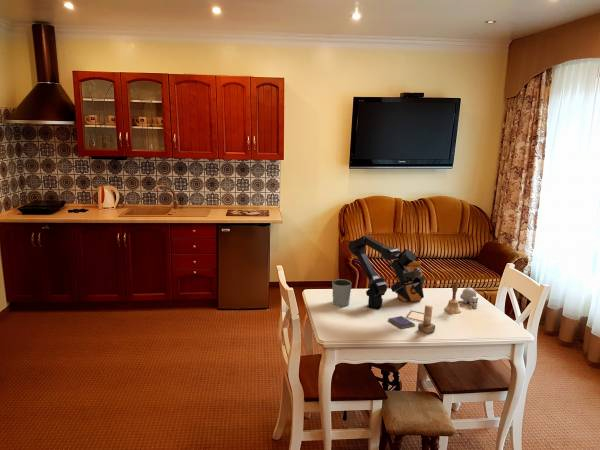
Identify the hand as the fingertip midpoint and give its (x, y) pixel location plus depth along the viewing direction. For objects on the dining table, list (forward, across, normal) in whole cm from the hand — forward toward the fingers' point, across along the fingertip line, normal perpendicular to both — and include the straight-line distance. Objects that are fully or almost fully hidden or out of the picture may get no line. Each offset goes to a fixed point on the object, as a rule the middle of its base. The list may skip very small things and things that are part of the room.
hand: (416, 299), depth 210 cm
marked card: (+5, +10, +13) cm, 17 cm away
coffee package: (-8, +24, +26) cm, 36 cm away
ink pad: (+6, -4, +12) cm, 14 cm away
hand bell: (+8, +32, +10) cm, 34 cm away
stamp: (+14, 0, +4) cm, 15 cm away
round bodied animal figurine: (+8, +48, +11) cm, 50 cm away
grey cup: (-18, -13, +36) cm, 43 cm away
